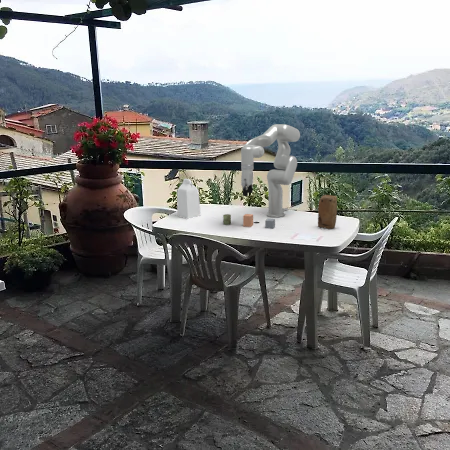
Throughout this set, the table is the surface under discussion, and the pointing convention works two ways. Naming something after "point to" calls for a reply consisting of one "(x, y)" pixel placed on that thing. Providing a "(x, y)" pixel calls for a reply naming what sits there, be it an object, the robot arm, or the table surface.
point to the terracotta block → (248, 220)
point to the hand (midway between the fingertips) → (247, 194)
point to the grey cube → (270, 223)
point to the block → (327, 211)
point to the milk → (188, 200)
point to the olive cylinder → (227, 219)
